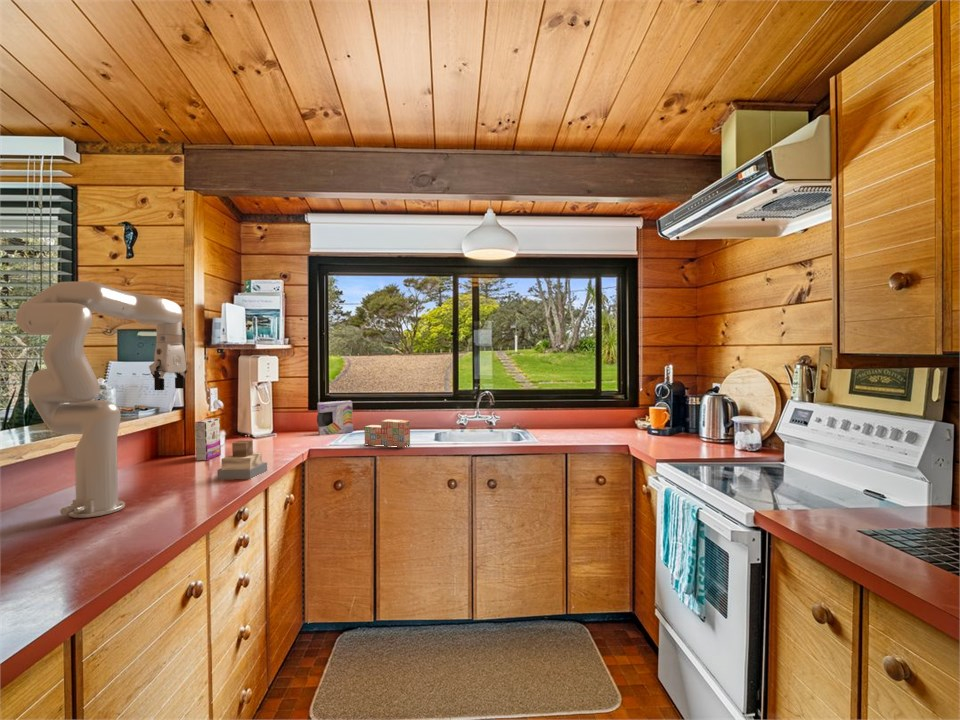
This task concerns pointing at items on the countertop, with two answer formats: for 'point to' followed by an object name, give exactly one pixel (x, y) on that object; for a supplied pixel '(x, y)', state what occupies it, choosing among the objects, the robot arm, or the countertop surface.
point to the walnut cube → (242, 448)
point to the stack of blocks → (388, 433)
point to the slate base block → (242, 472)
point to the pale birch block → (241, 462)
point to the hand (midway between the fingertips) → (169, 389)
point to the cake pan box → (335, 417)
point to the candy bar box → (207, 439)
